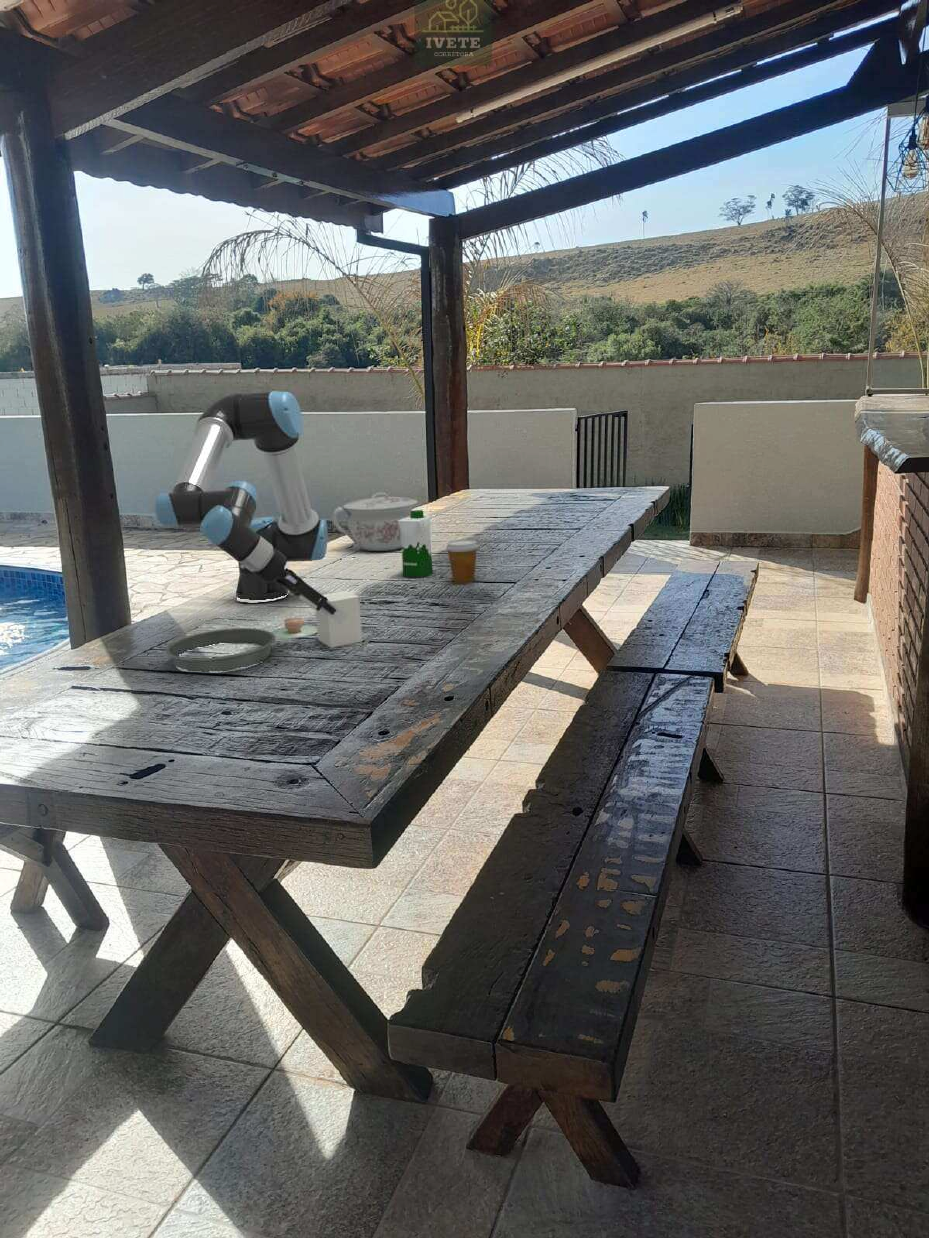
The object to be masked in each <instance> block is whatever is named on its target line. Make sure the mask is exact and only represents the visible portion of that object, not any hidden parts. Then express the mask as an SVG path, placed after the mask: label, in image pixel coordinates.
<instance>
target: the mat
mask: <svg viewBox="0 0 929 1238" xmlns="http://www.w3.org/2000/svg"><path fill="white" fill-rule="evenodd" d="M373 637H374V634H369V635H368V636H367V637H366V638H365V640H364V641H362V644H361V645H360V646H359V647H358V648H357V651H358V650H359V651H361V650H364V648H365V647H366V646H367V645H368V643H369V642H370V641H371V639H372V638H373Z"/></svg>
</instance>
